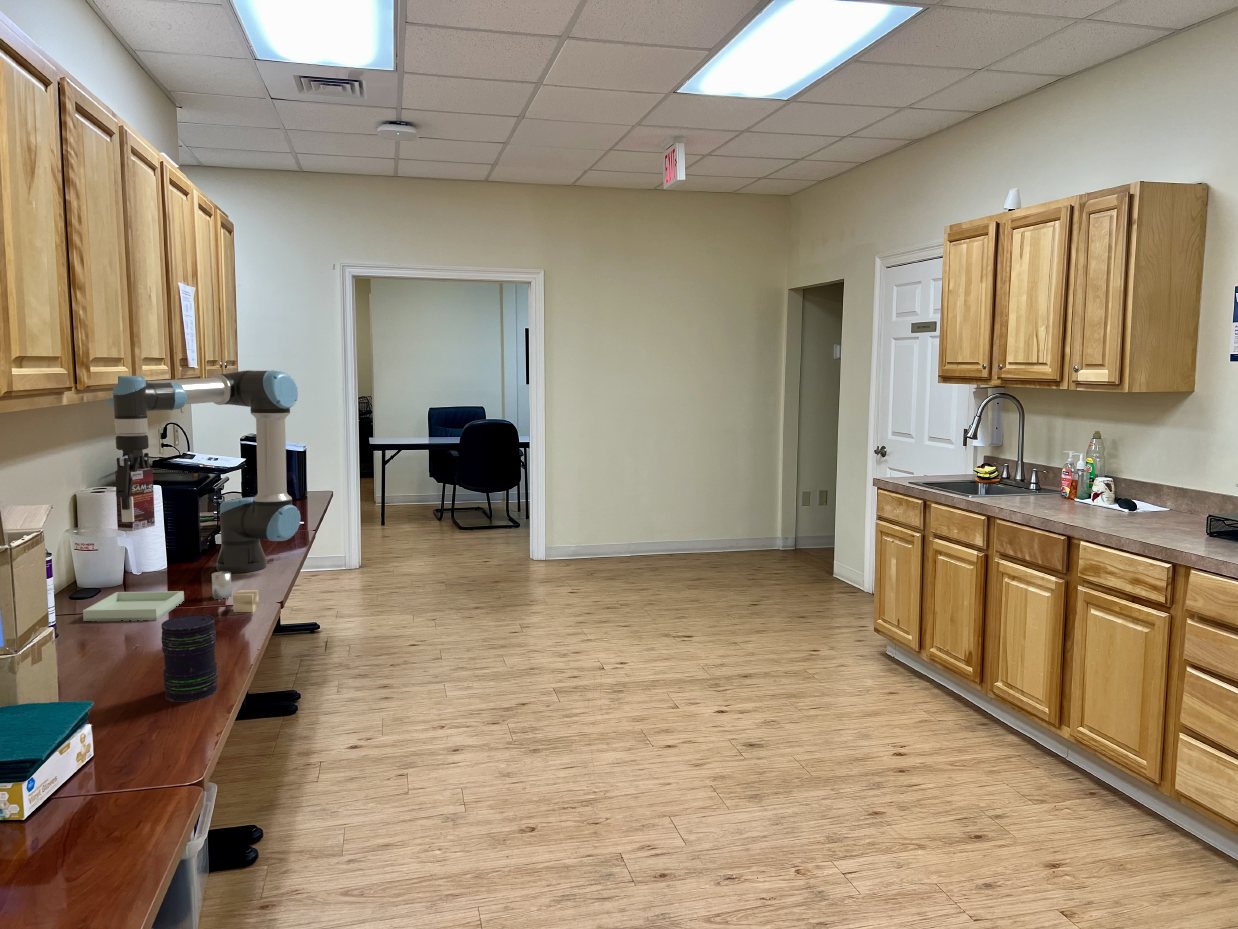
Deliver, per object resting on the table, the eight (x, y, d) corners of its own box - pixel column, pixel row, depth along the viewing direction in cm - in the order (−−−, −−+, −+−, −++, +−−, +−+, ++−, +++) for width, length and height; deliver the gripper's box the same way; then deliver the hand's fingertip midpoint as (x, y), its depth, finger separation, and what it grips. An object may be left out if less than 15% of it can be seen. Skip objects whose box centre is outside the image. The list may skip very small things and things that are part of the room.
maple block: (239, 608, 235) (239, 590, 234) (258, 607, 235) (258, 590, 235) (233, 613, 230) (232, 595, 229) (252, 613, 230) (252, 594, 230)
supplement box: (133, 531, 223) (129, 471, 221) (116, 531, 224) (113, 471, 222) (156, 525, 231) (153, 468, 230) (140, 525, 232) (137, 467, 231)
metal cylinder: (216, 595, 247) (215, 571, 246) (234, 594, 248) (233, 571, 247) (210, 599, 242) (209, 575, 241) (228, 599, 243) (227, 575, 242)
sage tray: (116, 602, 238) (116, 592, 238) (184, 601, 240) (183, 591, 240) (83, 621, 220) (82, 610, 220) (156, 620, 222) (156, 609, 222)
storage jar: (168, 706, 167) (164, 632, 165) (160, 690, 175) (156, 619, 173) (223, 695, 173) (220, 623, 171) (213, 680, 181) (210, 611, 179)
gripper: (134, 431, 235) (139, 511, 238) (96, 437, 213) (101, 526, 216) (163, 431, 236) (167, 511, 239) (128, 438, 214) (133, 525, 217)
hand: (136, 518), depth 227 cm, fingers closed on supplement box, 9 cm apart
